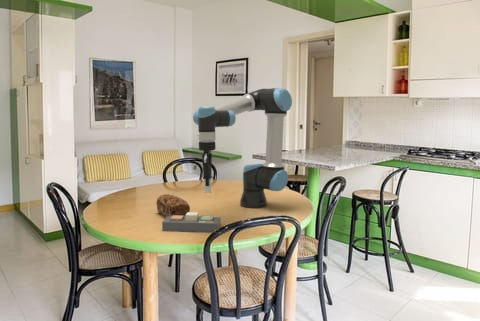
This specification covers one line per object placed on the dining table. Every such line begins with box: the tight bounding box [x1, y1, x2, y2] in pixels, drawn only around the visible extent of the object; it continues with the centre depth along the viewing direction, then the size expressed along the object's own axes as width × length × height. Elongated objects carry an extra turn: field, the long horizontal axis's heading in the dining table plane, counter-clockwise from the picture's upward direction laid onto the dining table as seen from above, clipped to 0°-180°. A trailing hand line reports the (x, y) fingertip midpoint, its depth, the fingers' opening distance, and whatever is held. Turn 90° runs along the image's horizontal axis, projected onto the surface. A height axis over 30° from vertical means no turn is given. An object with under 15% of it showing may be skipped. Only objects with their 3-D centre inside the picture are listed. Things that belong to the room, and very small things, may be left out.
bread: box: [155, 193, 191, 219], centre depth 205 cm, size 19×11×10 cm, turn 34°
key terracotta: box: [170, 215, 184, 221], centre depth 186 cm, size 5×5×4 cm
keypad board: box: [161, 215, 222, 233], centre depth 186 cm, size 25×11×4 cm, turn 85°
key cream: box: [185, 211, 199, 221], centre depth 185 cm, size 5×5×4 cm
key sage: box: [201, 215, 214, 222], centre depth 185 cm, size 5×5×4 cm
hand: (207, 192), depth 184 cm, fingers closed
